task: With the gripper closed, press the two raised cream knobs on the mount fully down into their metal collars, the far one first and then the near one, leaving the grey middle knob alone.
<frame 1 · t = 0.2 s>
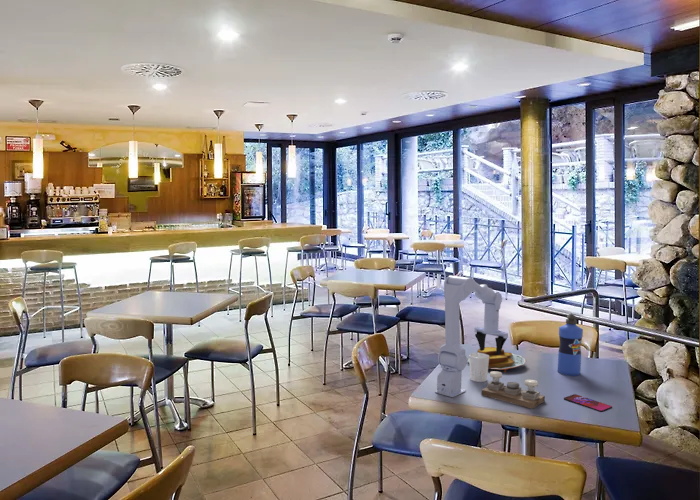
hand: (490, 352, 231), 10 cm above the table, tool pointing down, fingers open, 7 cm apart
smartphone: (587, 404, 201), on the table
water bottle: (568, 372, 237), on the table
left knob: (495, 377, 210), point 6 cm above the table, slide at 0.0 cm
knob mount: (512, 398, 206), on the table
food on plate: (496, 365, 248), on the table
white cup: (478, 379, 227), on the table
right knob: (531, 385, 201), point 6 cm above the table, slide at 0.0 cm
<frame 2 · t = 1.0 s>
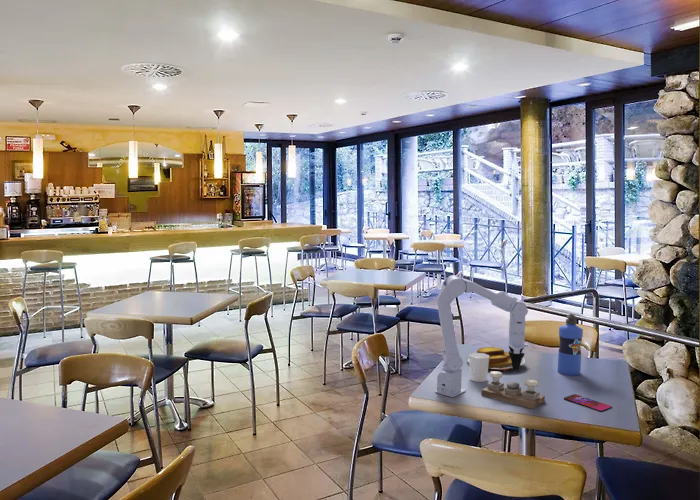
hand: (515, 367, 211), 10 cm above the table, tool pointing down, fingers open, 7 cm apart
nothing on the table moved.
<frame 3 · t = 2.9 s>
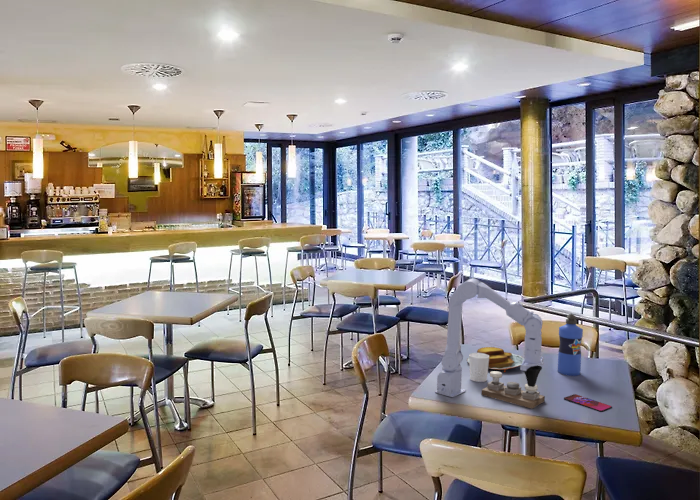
hand: (531, 385, 201), 6 cm above the table, tool pointing down, fingers closed, pressing on right knob
right knob: (531, 390, 201), point 5 cm above the table, slide at 1.6 cm, touching gripper
everything else where it was.
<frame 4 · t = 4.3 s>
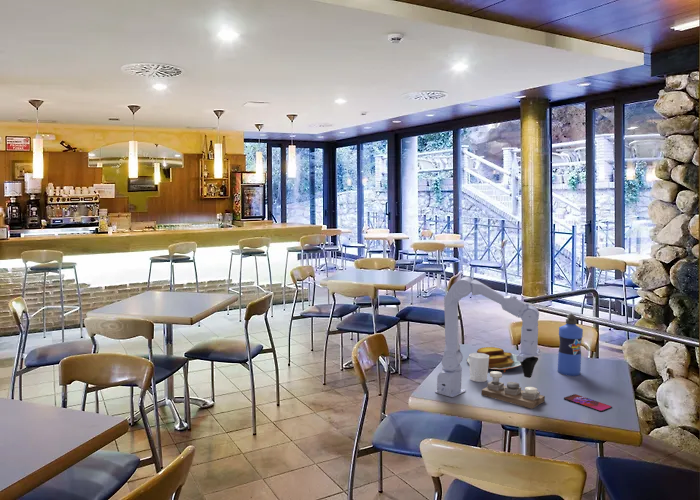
hand: (527, 376, 201), 9 cm above the table, tool pointing down, fingers closed
right knob: (531, 393, 201), point 4 cm above the table, slide at 2.7 cm, touching knob mount
everything else where it was.
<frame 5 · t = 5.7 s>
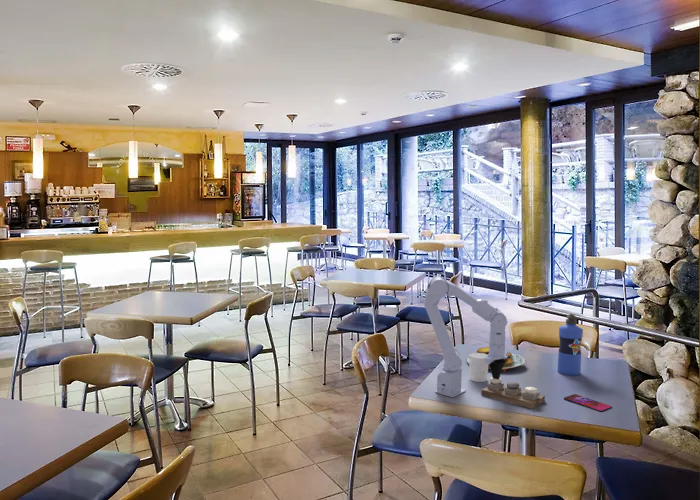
hand: (496, 378, 210), 6 cm above the table, tool pointing down, fingers closed, pressing on left knob
left knob: (495, 382, 210), point 4 cm above the table, slide at 2.1 cm, touching gripper
everything else where it was.
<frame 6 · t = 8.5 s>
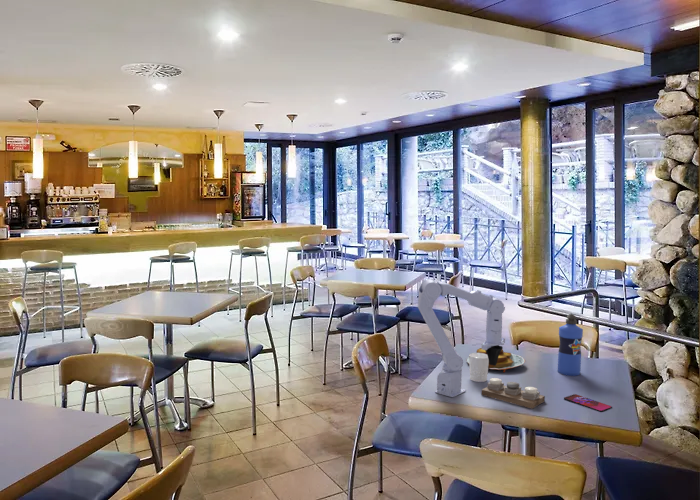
hand: (492, 364, 212), 10 cm above the table, tool pointing down, fingers closed
left knob: (495, 384, 210), point 4 cm above the table, slide at 2.7 cm, touching knob mount
everything else where it was.
at the end: right knob slide at 2.7 cm; left knob slide at 2.7 cm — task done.
